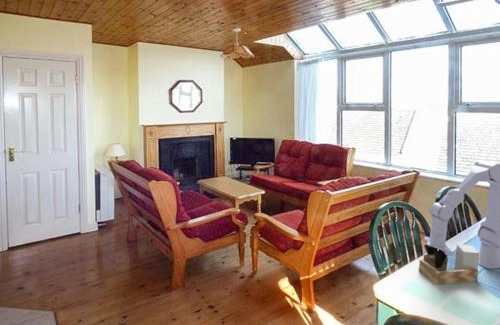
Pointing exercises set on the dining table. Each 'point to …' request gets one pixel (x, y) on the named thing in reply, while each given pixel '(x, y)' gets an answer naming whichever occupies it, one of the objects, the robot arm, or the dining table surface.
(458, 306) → the dining table surface
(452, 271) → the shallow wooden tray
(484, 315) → the dining table surface
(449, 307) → the dining table surface
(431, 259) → the brown rectangular block
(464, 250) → the small box
